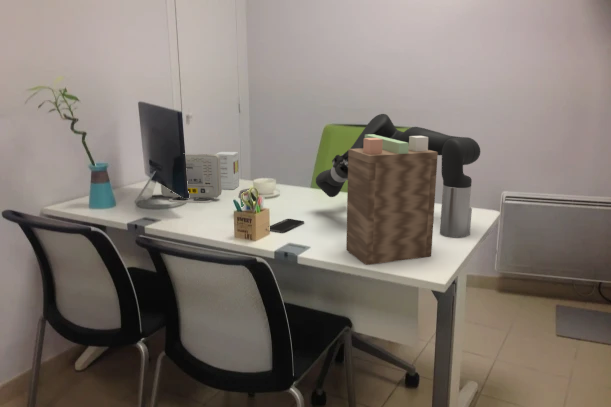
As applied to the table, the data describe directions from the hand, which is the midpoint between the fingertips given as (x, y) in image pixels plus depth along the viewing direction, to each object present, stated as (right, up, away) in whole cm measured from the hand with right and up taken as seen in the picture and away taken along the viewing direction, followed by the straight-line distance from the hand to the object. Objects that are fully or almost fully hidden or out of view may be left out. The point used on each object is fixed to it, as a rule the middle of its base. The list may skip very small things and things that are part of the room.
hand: (361, 152), depth 176 cm
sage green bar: (+5, 0, -15) cm, 16 cm away
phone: (-26, -26, +16) cm, 40 cm away
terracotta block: (+1, -2, -24) cm, 24 cm away
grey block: (+15, -1, -19) cm, 24 cm away
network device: (-68, -16, +55) cm, 89 cm away
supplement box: (-56, -10, +80) cm, 98 cm away
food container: (-41, -23, +28) cm, 55 cm away
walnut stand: (+7, -32, -11) cm, 35 cm away
